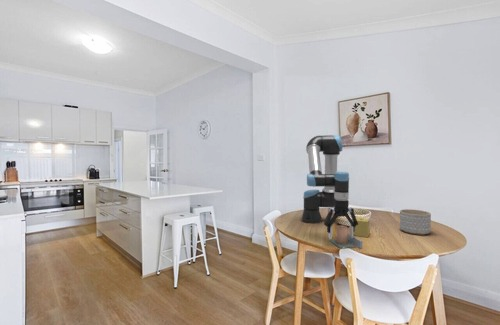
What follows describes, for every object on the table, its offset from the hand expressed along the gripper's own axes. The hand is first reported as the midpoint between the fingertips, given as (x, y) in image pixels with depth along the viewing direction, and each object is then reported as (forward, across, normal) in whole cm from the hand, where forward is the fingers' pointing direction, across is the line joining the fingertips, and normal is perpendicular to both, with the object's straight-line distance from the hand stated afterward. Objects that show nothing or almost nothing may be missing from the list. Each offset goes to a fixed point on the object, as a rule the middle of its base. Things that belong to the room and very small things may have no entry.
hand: (340, 238), depth 136 cm
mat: (+3, +1, 0) cm, 4 cm away
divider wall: (+3, +7, 0) cm, 8 cm away
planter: (+3, +58, +12) cm, 59 cm away
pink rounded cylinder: (+3, +1, 0) cm, 3 cm away
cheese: (+4, +21, +14) cm, 25 cm away
